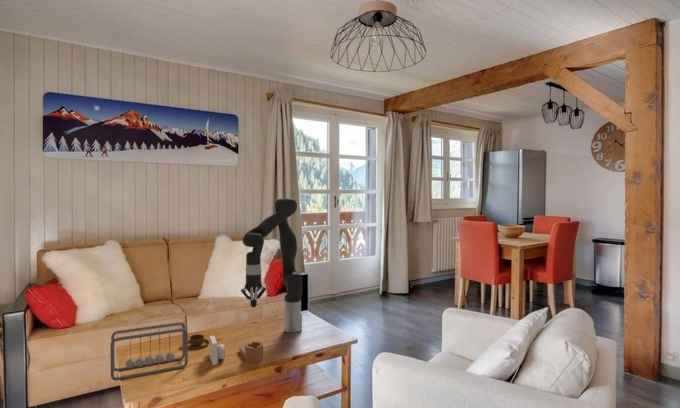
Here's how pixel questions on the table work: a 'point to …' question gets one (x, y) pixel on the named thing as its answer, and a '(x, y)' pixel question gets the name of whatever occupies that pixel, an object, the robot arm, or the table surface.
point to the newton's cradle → (150, 359)
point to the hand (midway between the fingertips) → (253, 306)
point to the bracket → (252, 351)
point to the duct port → (216, 351)
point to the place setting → (196, 342)
